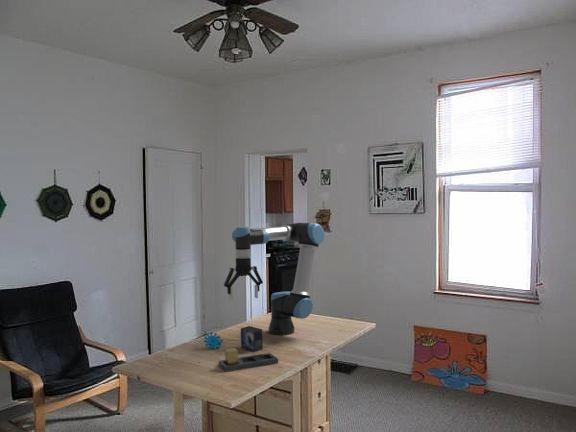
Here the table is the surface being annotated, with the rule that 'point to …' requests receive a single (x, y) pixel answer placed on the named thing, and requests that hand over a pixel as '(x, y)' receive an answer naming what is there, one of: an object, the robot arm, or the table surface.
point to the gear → (213, 340)
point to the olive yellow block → (231, 356)
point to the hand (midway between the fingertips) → (243, 299)
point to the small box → (251, 338)
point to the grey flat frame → (256, 362)
